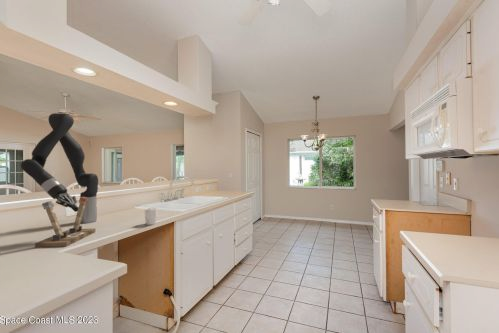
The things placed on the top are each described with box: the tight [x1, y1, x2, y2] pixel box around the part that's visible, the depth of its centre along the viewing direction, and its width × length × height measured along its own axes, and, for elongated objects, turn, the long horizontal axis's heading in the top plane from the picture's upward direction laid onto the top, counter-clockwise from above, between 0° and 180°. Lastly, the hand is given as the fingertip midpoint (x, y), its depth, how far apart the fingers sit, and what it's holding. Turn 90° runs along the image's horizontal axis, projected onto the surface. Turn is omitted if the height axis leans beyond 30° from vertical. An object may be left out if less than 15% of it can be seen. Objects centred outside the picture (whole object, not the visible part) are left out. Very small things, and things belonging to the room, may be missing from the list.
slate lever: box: [41, 200, 64, 237], centre depth 115 cm, size 3×3×19 cm
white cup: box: [144, 207, 158, 226], centre depth 153 cm, size 8×8×10 cm
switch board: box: [34, 225, 96, 248], centre depth 121 cm, size 24×14×4 cm, turn 6°
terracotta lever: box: [72, 196, 88, 230], centre depth 127 cm, size 3×3×19 cm
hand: (77, 210), depth 127 cm, fingers closed
